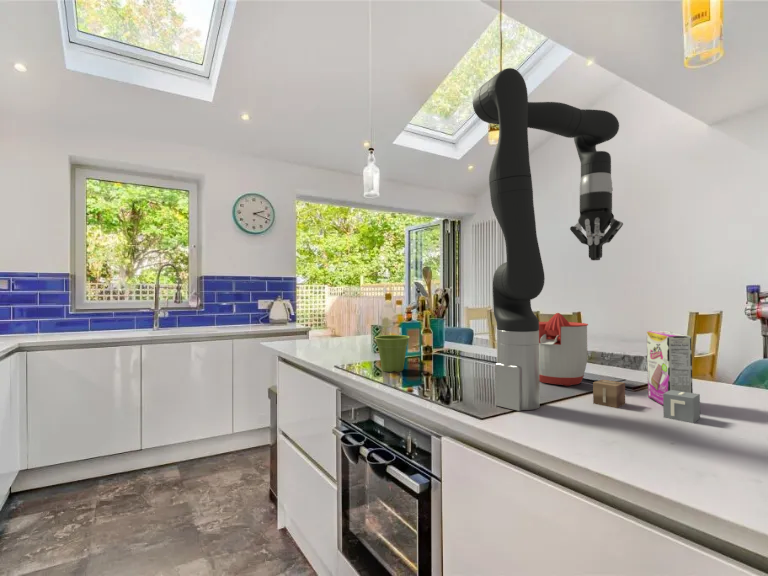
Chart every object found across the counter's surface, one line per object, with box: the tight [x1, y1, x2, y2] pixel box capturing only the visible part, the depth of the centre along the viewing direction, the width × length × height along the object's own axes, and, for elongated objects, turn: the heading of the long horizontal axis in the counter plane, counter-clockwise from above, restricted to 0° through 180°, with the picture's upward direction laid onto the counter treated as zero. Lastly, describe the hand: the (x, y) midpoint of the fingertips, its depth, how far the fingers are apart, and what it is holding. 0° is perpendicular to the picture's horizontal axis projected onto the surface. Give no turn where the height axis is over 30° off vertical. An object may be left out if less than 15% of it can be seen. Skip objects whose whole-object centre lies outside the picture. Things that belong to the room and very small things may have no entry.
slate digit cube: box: [662, 390, 701, 424], centre depth 84 cm, size 5×5×5 cm
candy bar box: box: [646, 330, 694, 406], centre depth 94 cm, size 11×5×16 cm, turn 169°
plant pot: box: [374, 334, 411, 373], centre depth 137 cm, size 12×12×11 cm
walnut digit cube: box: [592, 379, 626, 409], centre depth 94 cm, size 5×5×5 cm
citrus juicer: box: [539, 312, 589, 387], centre depth 118 cm, size 16×17×20 cm
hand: (595, 260), depth 106 cm, fingers closed
